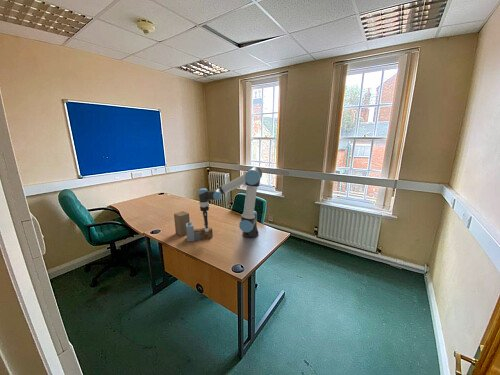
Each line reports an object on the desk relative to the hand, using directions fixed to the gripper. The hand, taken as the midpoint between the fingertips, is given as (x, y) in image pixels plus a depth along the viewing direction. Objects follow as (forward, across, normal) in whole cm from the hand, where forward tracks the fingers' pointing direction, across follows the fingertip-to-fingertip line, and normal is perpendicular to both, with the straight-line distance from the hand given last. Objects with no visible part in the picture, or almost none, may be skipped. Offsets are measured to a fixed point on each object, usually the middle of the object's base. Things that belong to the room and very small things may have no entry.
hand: (206, 228), depth 188 cm
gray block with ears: (+8, 0, -12) cm, 14 cm away
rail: (+9, -1, -3) cm, 9 cm away
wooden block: (+8, -14, -22) cm, 27 cm away
